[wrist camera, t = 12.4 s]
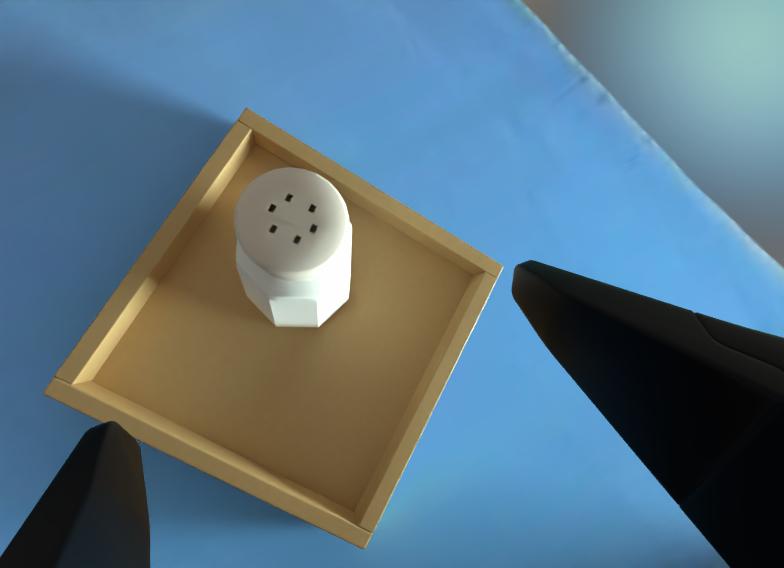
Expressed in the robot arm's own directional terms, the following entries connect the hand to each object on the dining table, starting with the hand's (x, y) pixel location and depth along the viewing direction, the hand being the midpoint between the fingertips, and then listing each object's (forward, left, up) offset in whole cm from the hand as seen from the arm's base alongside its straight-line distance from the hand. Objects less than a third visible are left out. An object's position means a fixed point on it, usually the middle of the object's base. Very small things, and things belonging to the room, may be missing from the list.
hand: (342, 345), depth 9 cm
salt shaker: (+2, +3, -12) cm, 13 cm away
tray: (0, +1, -13) cm, 13 cm away
